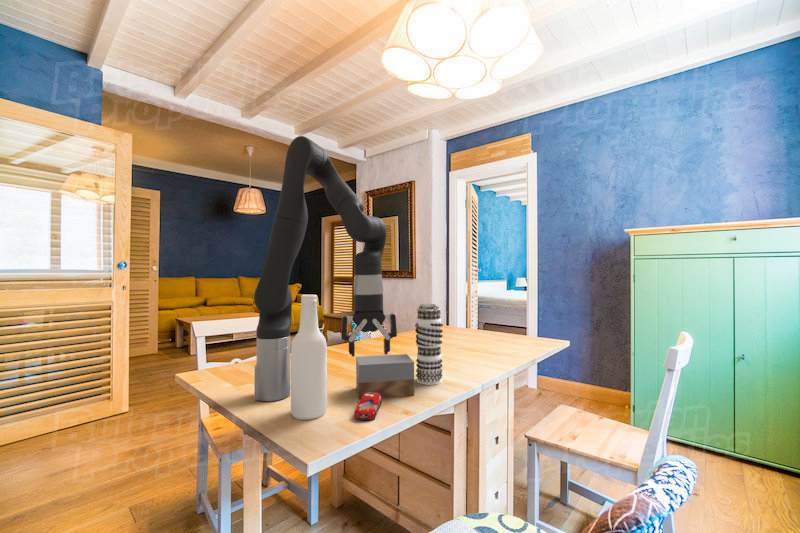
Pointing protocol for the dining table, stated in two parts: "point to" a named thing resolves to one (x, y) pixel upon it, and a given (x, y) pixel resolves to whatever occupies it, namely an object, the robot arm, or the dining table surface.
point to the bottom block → (386, 388)
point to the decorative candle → (429, 345)
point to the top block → (384, 368)
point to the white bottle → (308, 365)
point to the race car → (368, 406)
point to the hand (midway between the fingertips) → (369, 354)
